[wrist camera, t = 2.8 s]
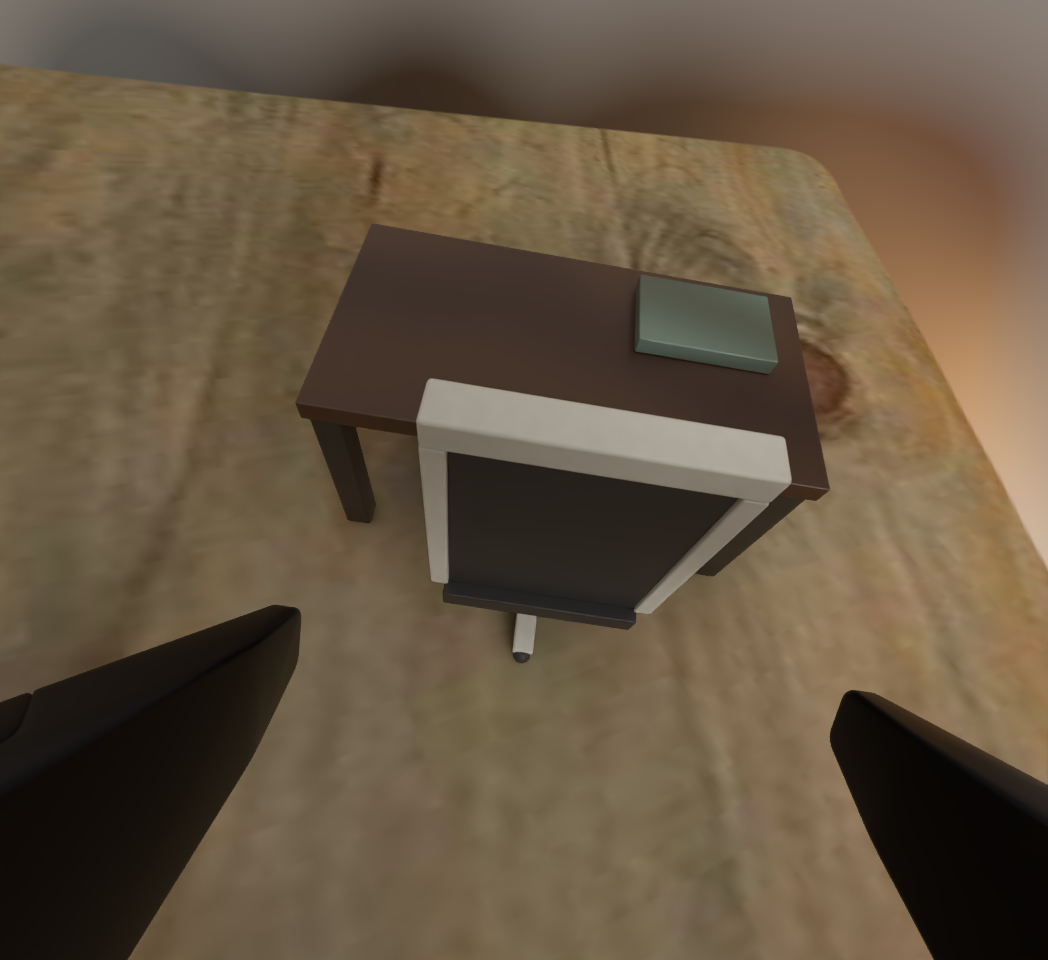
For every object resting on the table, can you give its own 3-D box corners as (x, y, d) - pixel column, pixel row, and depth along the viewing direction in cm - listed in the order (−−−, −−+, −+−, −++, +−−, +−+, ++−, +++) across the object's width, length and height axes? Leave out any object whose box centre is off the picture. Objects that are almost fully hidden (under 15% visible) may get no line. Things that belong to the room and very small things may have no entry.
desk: (718, 581, 22) (844, 479, 15) (342, 523, 21) (288, 388, 14) (706, 421, 26) (800, 282, 19) (391, 369, 25) (369, 206, 18)
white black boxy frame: (619, 679, 19) (827, 535, 9) (418, 649, 19) (375, 463, 8) (624, 502, 23) (772, 249, 12) (455, 475, 23) (458, 192, 12)
